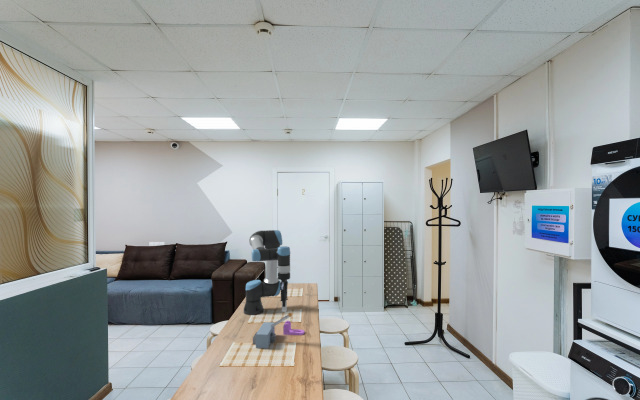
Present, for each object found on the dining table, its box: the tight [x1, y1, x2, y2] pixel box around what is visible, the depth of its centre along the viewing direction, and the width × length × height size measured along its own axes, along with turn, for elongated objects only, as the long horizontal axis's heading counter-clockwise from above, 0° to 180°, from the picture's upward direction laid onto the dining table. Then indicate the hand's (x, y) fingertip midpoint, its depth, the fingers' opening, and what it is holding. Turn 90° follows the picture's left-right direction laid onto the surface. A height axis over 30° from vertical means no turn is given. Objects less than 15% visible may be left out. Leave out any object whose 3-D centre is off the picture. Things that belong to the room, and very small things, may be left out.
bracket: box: [282, 320, 305, 336], centre depth 194 cm, size 13×6×7 cm, turn 84°
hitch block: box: [255, 321, 276, 349], centre depth 182 cm, size 18×7×8 cm, turn 176°
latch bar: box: [271, 312, 293, 328], centre depth 182 cm, size 2×15×2 cm
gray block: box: [252, 331, 277, 345], centre depth 182 cm, size 8×12×4 cm
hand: (284, 311), depth 182 cm, fingers closed
